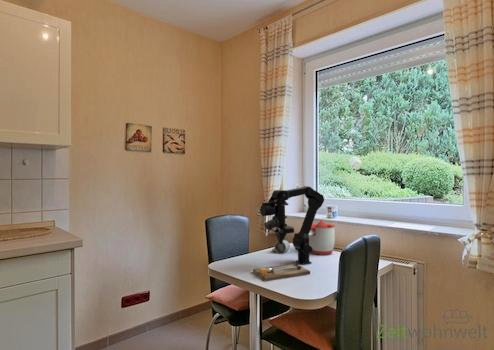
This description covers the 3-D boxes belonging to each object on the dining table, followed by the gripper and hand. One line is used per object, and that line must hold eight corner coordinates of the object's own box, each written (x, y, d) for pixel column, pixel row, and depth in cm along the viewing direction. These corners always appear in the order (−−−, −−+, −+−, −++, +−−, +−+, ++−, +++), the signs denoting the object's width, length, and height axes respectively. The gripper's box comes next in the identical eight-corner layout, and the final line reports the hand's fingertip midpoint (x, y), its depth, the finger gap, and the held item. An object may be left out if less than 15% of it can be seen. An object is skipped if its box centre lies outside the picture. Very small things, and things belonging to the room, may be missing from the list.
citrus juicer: (301, 251, 191) (301, 219, 191) (323, 248, 199) (323, 217, 199) (317, 257, 177) (317, 223, 177) (340, 254, 184) (340, 221, 184)
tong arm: (265, 271, 147) (265, 267, 147) (296, 267, 154) (296, 263, 154) (267, 273, 145) (267, 269, 145) (298, 268, 152) (298, 264, 152)
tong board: (252, 272, 152) (252, 265, 152) (294, 266, 161) (294, 260, 161) (265, 281, 139) (265, 274, 139) (310, 274, 148) (310, 267, 148)
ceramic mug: (290, 251, 192) (290, 239, 192) (286, 254, 185) (285, 241, 185) (274, 249, 197) (274, 237, 197) (269, 252, 190) (269, 240, 190)
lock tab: (260, 272, 146) (260, 268, 146) (264, 271, 147) (264, 267, 147) (262, 274, 143) (262, 270, 143) (267, 273, 144) (267, 269, 144)
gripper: (258, 213, 166) (258, 242, 166) (274, 217, 149) (275, 250, 149) (276, 211, 170) (276, 239, 170) (294, 216, 153) (295, 247, 153)
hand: (280, 244), depth 161 cm, fingers closed
